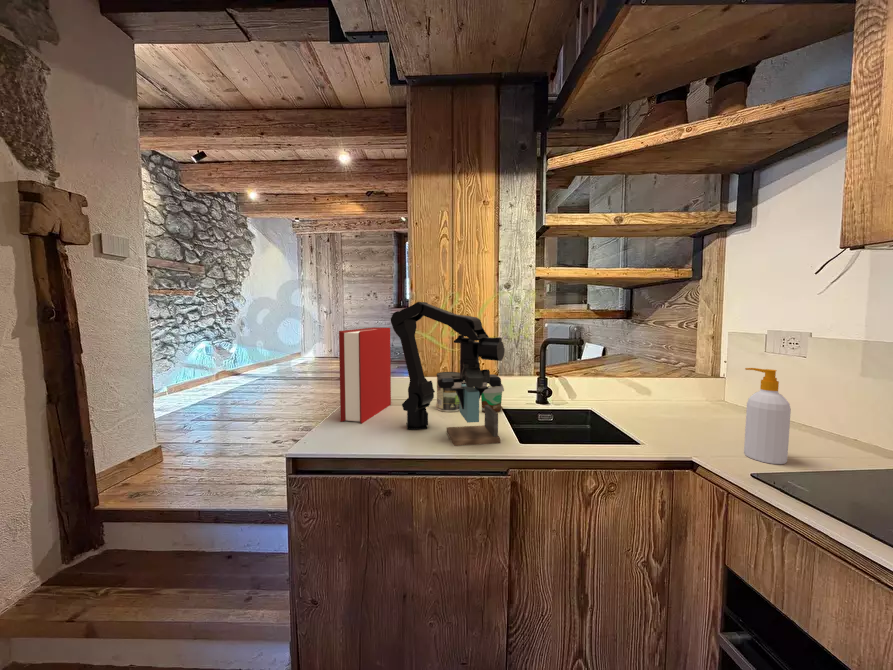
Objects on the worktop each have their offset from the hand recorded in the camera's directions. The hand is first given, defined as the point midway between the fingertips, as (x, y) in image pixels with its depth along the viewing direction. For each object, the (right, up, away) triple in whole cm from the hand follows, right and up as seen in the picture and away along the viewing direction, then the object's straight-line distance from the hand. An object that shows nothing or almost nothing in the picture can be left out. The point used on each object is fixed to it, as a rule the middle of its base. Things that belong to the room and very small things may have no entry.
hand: (468, 408), depth 109 cm
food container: (+12, -7, +30) cm, 33 cm away
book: (-37, -7, +28) cm, 47 cm away
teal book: (0, -3, 0) cm, 2 cm away
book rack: (+1, -9, +1) cm, 9 cm away
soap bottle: (+78, -10, -14) cm, 80 cm away
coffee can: (-6, -7, +33) cm, 34 cm away
